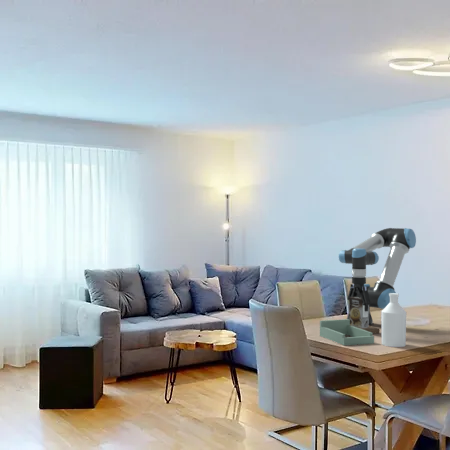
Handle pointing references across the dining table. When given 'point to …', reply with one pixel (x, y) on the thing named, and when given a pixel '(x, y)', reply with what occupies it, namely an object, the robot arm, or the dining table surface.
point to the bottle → (393, 323)
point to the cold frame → (344, 332)
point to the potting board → (371, 329)
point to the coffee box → (357, 313)
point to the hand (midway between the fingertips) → (358, 315)
